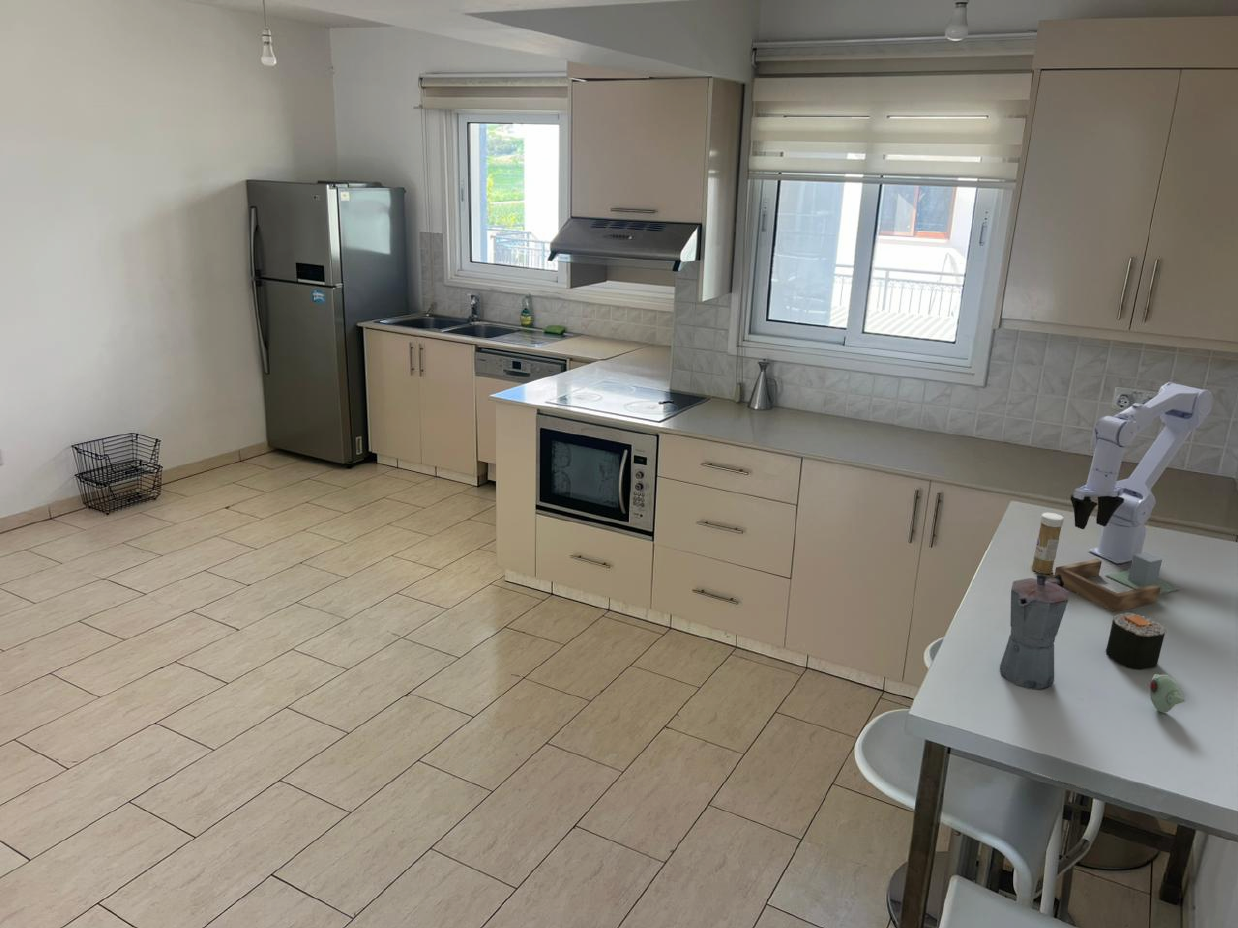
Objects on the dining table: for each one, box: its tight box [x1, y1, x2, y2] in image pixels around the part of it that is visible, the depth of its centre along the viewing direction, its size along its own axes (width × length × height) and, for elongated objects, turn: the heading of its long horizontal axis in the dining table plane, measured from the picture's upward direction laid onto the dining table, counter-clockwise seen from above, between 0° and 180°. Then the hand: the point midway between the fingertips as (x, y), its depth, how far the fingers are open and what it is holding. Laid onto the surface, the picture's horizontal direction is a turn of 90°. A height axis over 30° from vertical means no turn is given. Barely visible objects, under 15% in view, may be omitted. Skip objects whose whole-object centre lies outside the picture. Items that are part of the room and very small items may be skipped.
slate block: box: [1128, 552, 1163, 587], centre depth 201 cm, size 4×4×6 cm
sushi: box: [1105, 612, 1167, 670], centre depth 168 cm, size 8×8×8 cm
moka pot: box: [999, 574, 1069, 690], centre depth 159 cm, size 10×15×20 cm, turn 135°
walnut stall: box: [1053, 558, 1161, 613], centre depth 196 cm, size 13×15×4 cm
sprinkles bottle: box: [1031, 512, 1065, 575], centre depth 204 cm, size 5×5×14 cm
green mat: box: [1105, 569, 1179, 595], centre depth 202 cm, size 9×11×1 cm
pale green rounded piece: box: [1149, 673, 1186, 714], centre depth 151 cm, size 8×4×7 cm, turn 175°
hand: (1090, 526), depth 208 cm, fingers open, 7 cm apart
